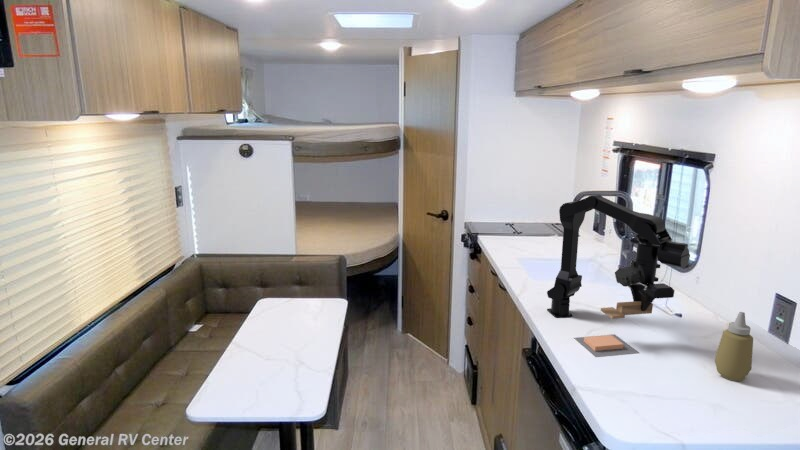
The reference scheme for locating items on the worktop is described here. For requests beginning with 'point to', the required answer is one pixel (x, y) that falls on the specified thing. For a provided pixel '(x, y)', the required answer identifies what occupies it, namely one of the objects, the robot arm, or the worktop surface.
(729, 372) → the squeeze bottle
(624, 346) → the mat
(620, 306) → the turner
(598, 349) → the tile
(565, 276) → the robot arm
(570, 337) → the worktop surface
